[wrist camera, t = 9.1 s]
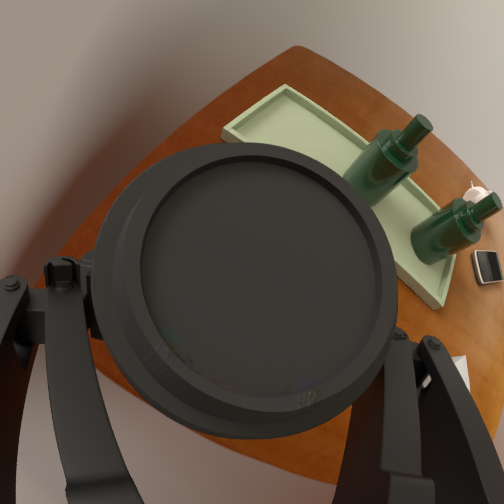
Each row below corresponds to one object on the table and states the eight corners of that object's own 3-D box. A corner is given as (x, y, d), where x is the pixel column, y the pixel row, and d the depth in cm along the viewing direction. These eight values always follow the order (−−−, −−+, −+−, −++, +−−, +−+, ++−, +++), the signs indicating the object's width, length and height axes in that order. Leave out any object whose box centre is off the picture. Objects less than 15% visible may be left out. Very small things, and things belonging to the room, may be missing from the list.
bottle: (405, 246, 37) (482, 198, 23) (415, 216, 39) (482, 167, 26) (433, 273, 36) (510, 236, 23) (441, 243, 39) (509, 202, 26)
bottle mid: (335, 185, 37) (397, 113, 24) (352, 160, 40) (407, 93, 26) (371, 216, 37) (443, 155, 24) (385, 188, 39) (447, 130, 26)
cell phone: (468, 252, 41) (473, 249, 40) (493, 253, 44) (498, 251, 43) (476, 286, 39) (481, 283, 38) (500, 282, 42) (505, 280, 41)
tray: (220, 138, 36) (222, 127, 34) (281, 92, 43) (284, 83, 41) (433, 310, 35) (443, 307, 33) (452, 235, 41) (461, 230, 40)
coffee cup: (175, 244, 21) (185, 67, 7) (288, 291, 22) (436, 188, 8) (126, 359, 17) (4, 360, 4) (249, 406, 18) (392, 483, 5)
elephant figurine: (471, 229, 44) (492, 216, 38) (452, 192, 46) (472, 177, 40) (482, 221, 46) (502, 209, 41) (465, 188, 48) (484, 174, 43)
